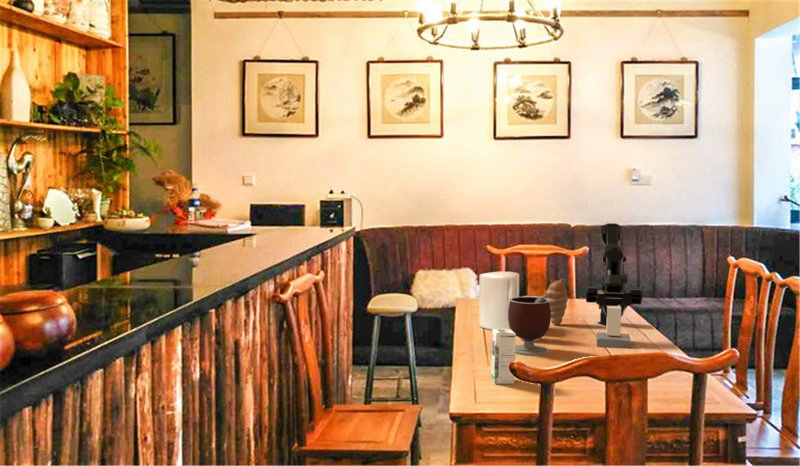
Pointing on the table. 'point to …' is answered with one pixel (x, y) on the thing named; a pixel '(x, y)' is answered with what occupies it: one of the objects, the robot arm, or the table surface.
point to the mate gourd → (529, 322)
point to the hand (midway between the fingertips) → (613, 315)
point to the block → (613, 320)
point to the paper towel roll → (496, 298)
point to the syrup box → (502, 355)
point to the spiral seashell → (557, 300)
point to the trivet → (613, 340)
